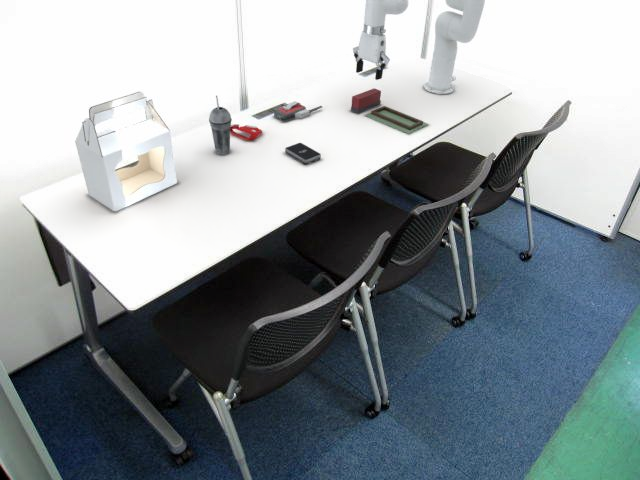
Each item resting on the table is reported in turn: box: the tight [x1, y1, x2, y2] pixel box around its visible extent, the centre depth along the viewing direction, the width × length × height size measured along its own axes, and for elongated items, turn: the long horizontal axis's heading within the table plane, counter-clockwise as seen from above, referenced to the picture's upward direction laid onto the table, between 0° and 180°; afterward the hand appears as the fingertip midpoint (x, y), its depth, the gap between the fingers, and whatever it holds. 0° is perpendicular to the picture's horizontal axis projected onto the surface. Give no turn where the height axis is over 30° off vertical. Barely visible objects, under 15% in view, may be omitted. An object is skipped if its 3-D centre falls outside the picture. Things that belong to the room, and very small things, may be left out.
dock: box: [365, 105, 429, 135], centre depth 207 cm, size 12×21×2 cm, turn 45°
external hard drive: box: [284, 142, 322, 165], centre depth 181 cm, size 7×11×2 cm, turn 42°
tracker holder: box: [230, 123, 263, 141], centre depth 191 cm, size 12×4×10 cm
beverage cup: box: [208, 95, 233, 156], centre depth 176 cm, size 7×7×20 cm
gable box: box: [74, 91, 178, 213], centre depth 153 cm, size 22×13×28 cm, turn 140°
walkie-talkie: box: [273, 100, 323, 122], centre depth 207 cm, size 9×4×20 cm
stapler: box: [350, 87, 382, 115], centre depth 214 cm, size 14×4×6 cm, turn 135°
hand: (368, 75), depth 208 cm, fingers open, 9 cm apart
